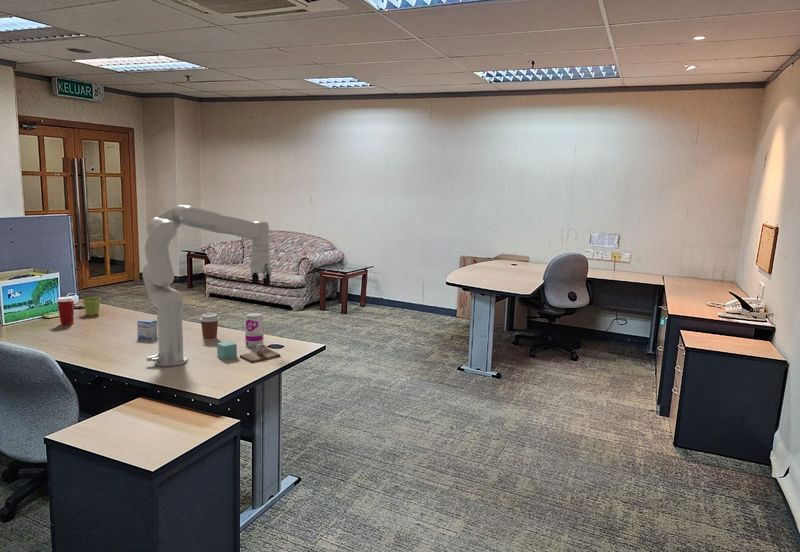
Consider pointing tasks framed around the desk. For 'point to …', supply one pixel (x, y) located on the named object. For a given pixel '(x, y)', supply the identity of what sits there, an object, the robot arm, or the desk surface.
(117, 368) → the desk surface
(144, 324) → the medicine box
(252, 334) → the supplement can
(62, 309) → the paper cup
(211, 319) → the coffee cup
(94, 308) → the plant pot
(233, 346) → the teal cube
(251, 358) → the post board
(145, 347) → the desk surface
